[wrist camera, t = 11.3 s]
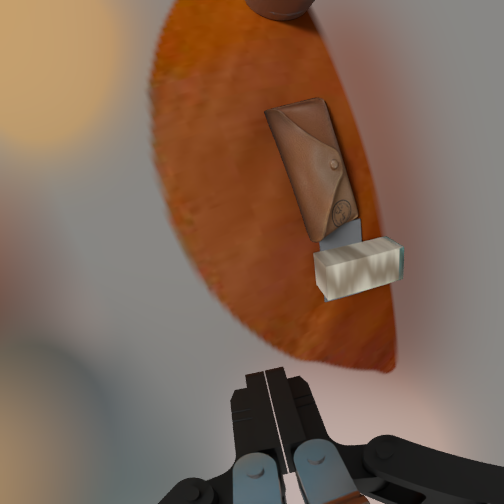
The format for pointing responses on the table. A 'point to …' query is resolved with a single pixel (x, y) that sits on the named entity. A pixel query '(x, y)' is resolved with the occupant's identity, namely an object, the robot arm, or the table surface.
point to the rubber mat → (342, 239)
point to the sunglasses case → (313, 165)
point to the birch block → (358, 267)
